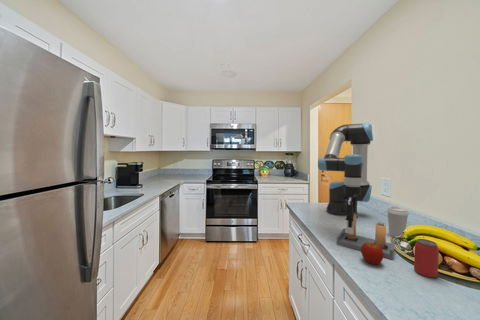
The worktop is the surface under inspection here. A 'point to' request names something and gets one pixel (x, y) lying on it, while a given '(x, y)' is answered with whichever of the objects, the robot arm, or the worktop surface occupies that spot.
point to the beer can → (426, 258)
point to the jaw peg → (353, 236)
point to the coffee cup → (397, 220)
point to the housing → (369, 241)
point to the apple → (372, 253)
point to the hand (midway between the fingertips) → (351, 231)
